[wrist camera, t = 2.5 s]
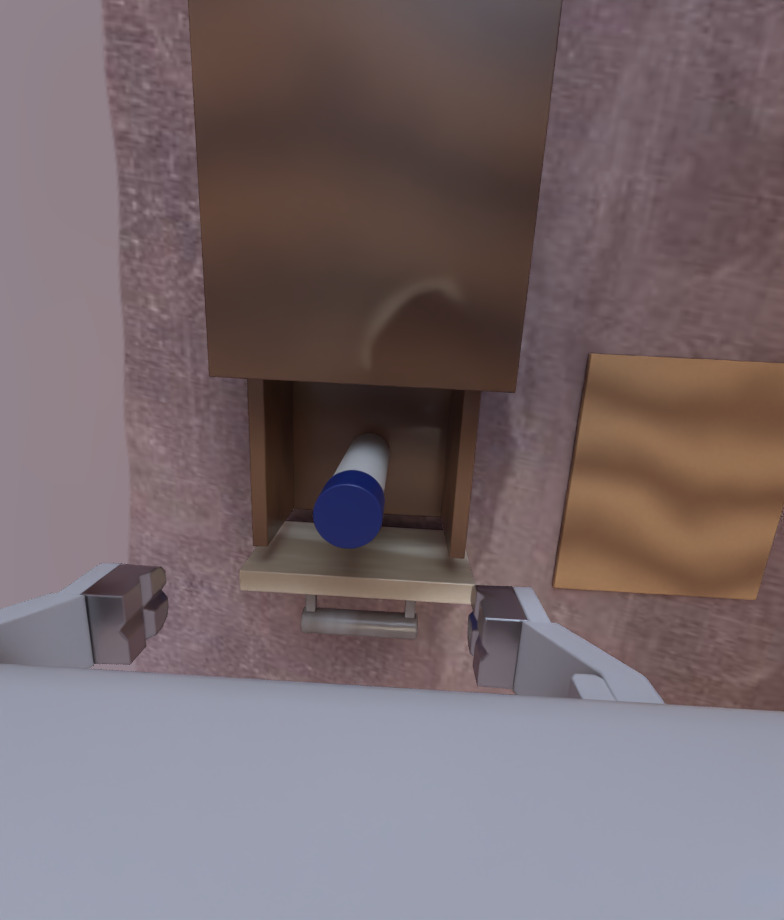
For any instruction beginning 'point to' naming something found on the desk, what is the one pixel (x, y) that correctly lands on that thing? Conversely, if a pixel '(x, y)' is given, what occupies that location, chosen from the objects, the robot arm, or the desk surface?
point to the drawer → (406, 493)
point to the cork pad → (674, 477)
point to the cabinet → (370, 186)
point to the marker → (354, 495)
